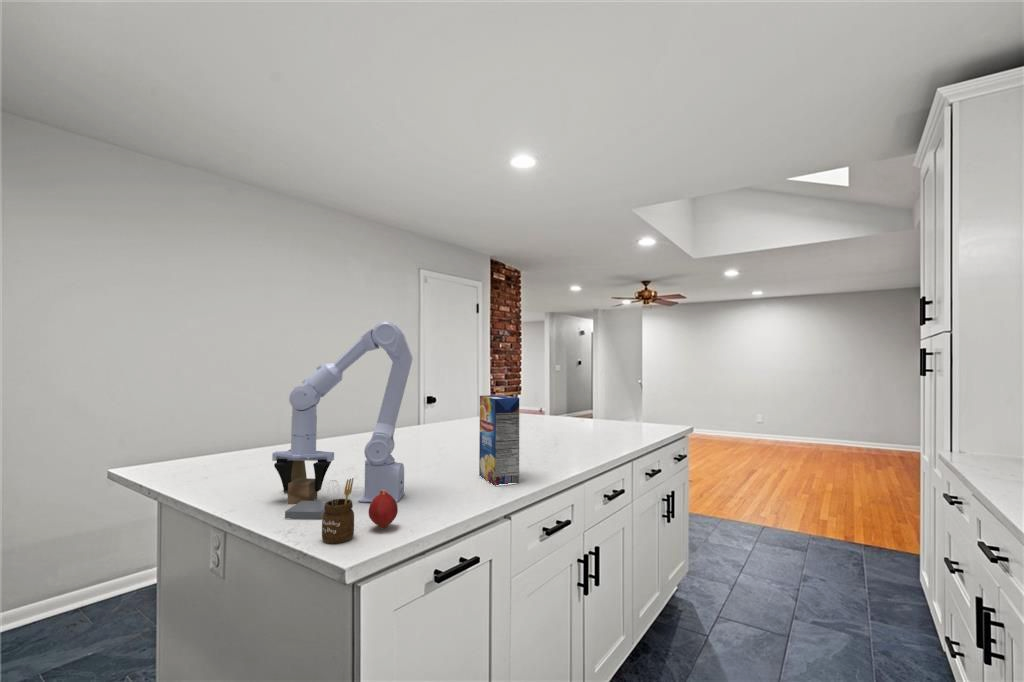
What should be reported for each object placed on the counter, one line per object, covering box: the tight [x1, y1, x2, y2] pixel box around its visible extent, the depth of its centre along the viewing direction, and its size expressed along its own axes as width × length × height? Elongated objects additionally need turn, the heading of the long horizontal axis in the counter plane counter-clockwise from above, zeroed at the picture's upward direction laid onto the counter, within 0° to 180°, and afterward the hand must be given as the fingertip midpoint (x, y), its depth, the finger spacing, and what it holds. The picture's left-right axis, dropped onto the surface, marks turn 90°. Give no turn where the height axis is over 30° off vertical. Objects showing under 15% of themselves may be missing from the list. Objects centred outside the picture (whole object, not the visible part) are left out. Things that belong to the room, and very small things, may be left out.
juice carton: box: [478, 394, 520, 486], centre depth 140 cm, size 12×8×24 cm, turn 25°
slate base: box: [284, 500, 329, 520], centre depth 109 cm, size 8×8×2 cm
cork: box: [282, 449, 307, 495], centre depth 127 cm, size 6×6×11 cm
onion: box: [368, 490, 398, 529], centre depth 100 cm, size 6×6×8 cm
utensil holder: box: [321, 477, 355, 545], centre depth 94 cm, size 6×6×12 cm
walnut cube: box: [287, 478, 318, 505], centre depth 118 cm, size 5×5×5 cm
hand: (302, 490), depth 118 cm, fingers open, 7 cm apart
